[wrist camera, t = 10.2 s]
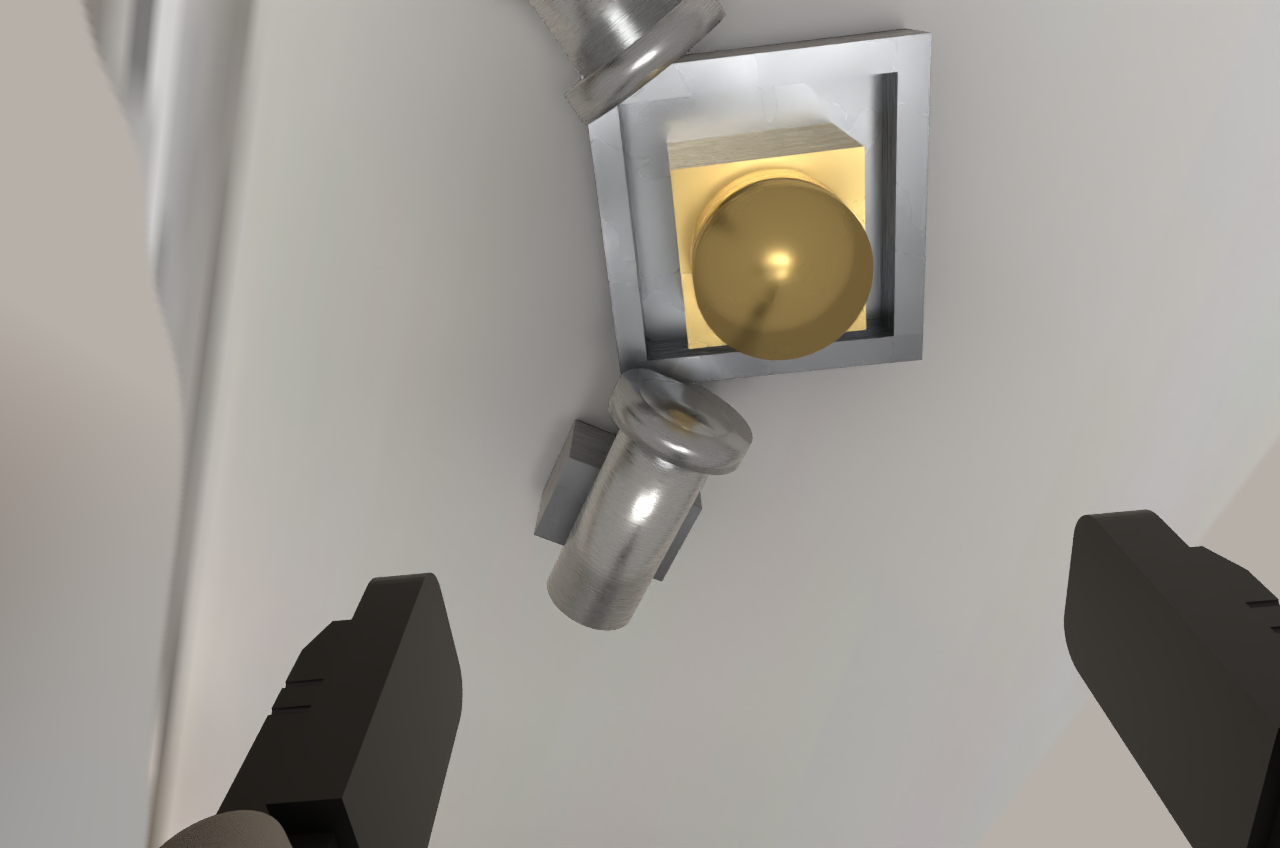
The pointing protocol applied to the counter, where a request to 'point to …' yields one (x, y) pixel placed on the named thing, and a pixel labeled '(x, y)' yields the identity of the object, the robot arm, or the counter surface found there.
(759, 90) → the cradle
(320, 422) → the counter surface
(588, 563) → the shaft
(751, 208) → the gold square-based knob
